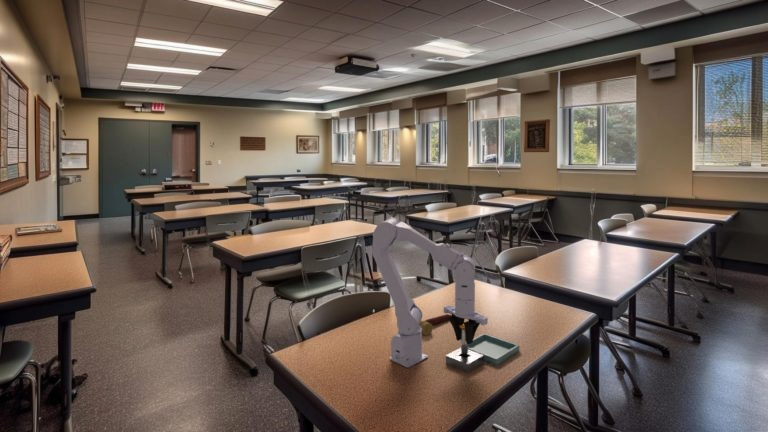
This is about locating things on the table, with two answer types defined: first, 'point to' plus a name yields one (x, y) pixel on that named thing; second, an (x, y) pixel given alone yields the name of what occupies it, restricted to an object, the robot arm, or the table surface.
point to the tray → (493, 348)
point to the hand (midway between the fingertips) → (464, 341)
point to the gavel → (432, 323)
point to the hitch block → (464, 360)
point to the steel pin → (463, 339)
